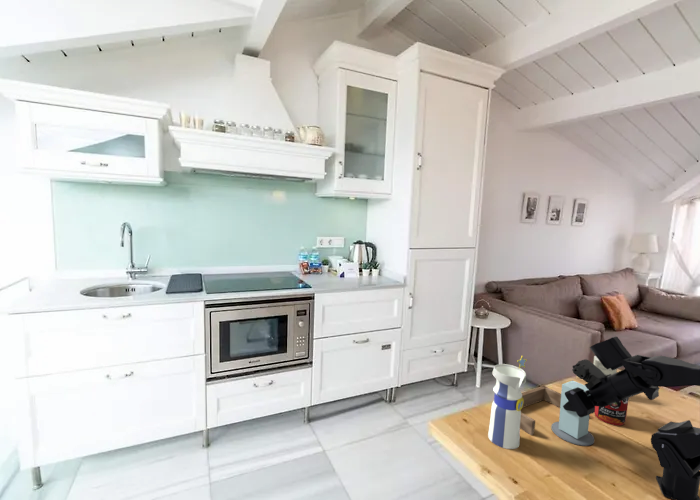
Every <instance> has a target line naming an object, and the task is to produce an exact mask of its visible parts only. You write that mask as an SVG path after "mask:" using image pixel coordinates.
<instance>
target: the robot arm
mask: <svg viewBox="0 0 700 500" xmlns="http://www.w3.org/2000/svg"><path fill="white" fill-rule="evenodd" d="M589 348H590V350H591V351H592V353H593V355H594V356H596V357H597V358H598V359H599V361H600V362H601V363H602V365H603V366H604V368H606V369H610V368H611V370H612V371H613V370H615V369H620V368H622V367H623V369H622V370H620V371H617V372H616V373H614V374H612V375H611V374H609V375H605V374H604V373H603V372H602V371H601V370H600V369H599V368H598V367H596V366H595V365H594V362H592V361H590V360H589V359H587V358H585V359H582V360H579V361H577V363H576V364H574V365H572V370H571V371H572V373H573V374H574V376H576V377H578V378H579V379H580V380H582V381H584V382H585V384H583V385H585V386H586V388H587V389H589V390H587V391H584V390H583V389H581V388H578V387H577V388H575V389H572V390H569V391H567V392H565V396H566V398H567V399H568V402H567V403H566V404H565V405H563V408H564V409H565V410H567V411H573V412H576V413H577V415H578V416H579V417H584V416H587V415H589V414H590V415H591V414H595V413H594V412H595V406H601V407H602V408H603V407H605V406H608V405H610V404H613V403H616V402H619V401H622V400H624V399H626V398H629V399H630V398H632V397H634V396H637V395H640V394H642V393H644V395H645V396H646V398H648V400H649V401H653V400H654V399H656V398H659V397H660V392H659V391H660V388H665V387H666V388H668V387H669V388H670V387H672V388H673V387H685V386H696V387H697V386H698V387H700V364H693V363H690V362H688V361H685V360H682V359H678V358H674V357H669V356H666V355H665V356H664V355H655V356H652V357H651V356H645V355H641V354H635V355H632V354H631V353H630V352H629V351H628V349H627V348H626V346H625V345H623V343H622V341H621V340H620V338H619V337H618V336H612V337H610V338H608V339H606V340H603V341H601V342H596V343H595V344H593V345H591V346H589ZM589 394H590V396H587V395H589ZM650 444H651V446H652V448H653V450H654V451H655V452H656V455H657V459H658V463H659V465H660V467H661V468H663V470H662V476H660V475H656V476H655V479H656V481H657V484H658V487H659V489H660V491H661V494H662V496H664V497H665V498H669V499H671V500H700V496H699V491H700V427H696V426H693V424H692V422H691V420H690V419H688V420H684V421H679V422H676V421H675V422H674V421H669V422H667V423H666V424H664V425H662V426H660V427H659V428H657V431H656V432H655V433H653V434H651V437H650Z"/></svg>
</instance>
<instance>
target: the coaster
mask: <svg viewBox="0 0 700 500" xmlns="http://www.w3.org/2000/svg"><path fill="white" fill-rule="evenodd" d="M550 427H551V431H552V432H553V433H554V435H555V436H557V437H558V438H559V439H561V440H563V441H565V442H567V443H569V444H572V445H576V446H582V447H589V446H591V445H594V444H595V437H594V435H593V434H592V433H591V432H590V431H589V430H588V434H586V435H584V436H582V437H580V438H578V439H576V438H575V437H573V436H571V435H569V434H568V433H566V432H564V431H562V430H560V429H559V421H555V422H553V423H551V426H550Z"/></svg>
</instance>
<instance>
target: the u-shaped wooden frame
mask: <svg viewBox="0 0 700 500" xmlns="http://www.w3.org/2000/svg"><path fill="white" fill-rule="evenodd" d="M521 393H522V398H523V400H524V403H523V407H522V409H523V408H525V407H528V406H531V405H533V404H536V403H538V402H542V401H546V402H547V403H549V404H552V405H554V406H556V408H557V407H558V408H559V409H560V404H561V392H559V391H557V390H554V389H552V388H549V387H548V386H545V385H541V386H539V387H535V388H533V389H530V390H527V391H524V392H521ZM535 427H536V419H534V418H532V417H530V416H528V415H527V414H526V413H523V412H522V411H521V420H520V430H522V431H523V432H525V433H527V434H529V435H530V436H533V435H535Z"/></svg>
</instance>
